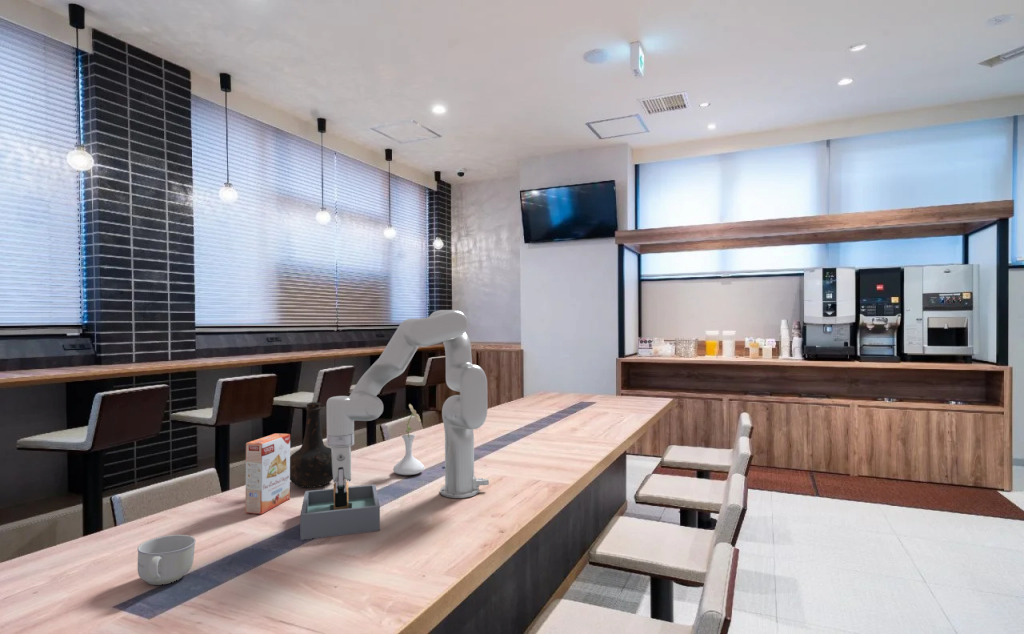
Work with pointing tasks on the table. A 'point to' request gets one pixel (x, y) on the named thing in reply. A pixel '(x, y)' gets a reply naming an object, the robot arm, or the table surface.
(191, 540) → the teacup
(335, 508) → the peg
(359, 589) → the table surface
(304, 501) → the bore box
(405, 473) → the flower in vase
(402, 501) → the table surface
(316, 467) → the dark brown vase
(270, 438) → the cracker box
